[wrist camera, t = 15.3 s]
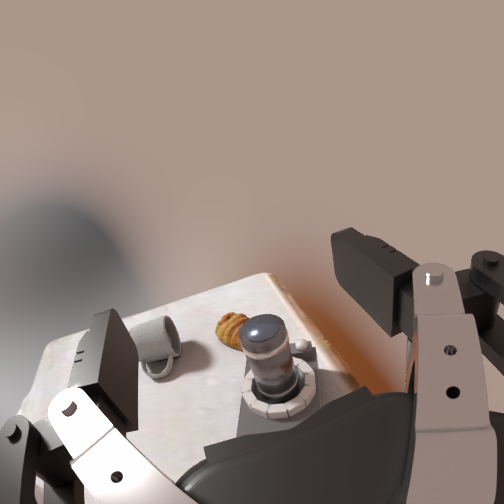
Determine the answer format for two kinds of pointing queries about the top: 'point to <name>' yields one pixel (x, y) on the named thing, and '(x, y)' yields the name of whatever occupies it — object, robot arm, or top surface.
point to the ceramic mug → (156, 343)
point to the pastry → (231, 329)
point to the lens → (270, 357)
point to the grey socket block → (290, 413)
